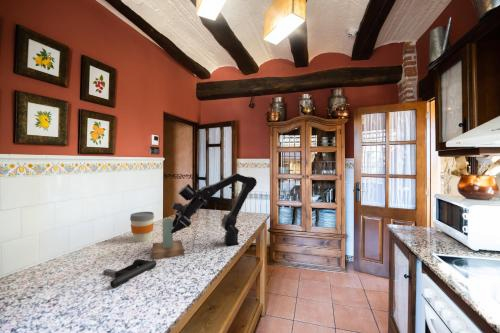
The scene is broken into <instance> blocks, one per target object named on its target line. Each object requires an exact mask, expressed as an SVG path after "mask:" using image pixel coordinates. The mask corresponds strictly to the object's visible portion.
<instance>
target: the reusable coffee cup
mask: <svg viewBox="0 0 500 333" xmlns="http://www.w3.org/2000/svg"><path fill="white" fill-rule="evenodd" d="M129 218H130V219H129V220H130V228H131V233H132V237H133V238H132V239H133V242H134V243H146V242H150V240H152V232H153V230H154V224H155V222H154V218H155V215H154V212H153V211H138V212H134V213H133V212H132V213H131V214H130V217H129Z"/></svg>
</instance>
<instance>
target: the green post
mask: <svg viewBox="0 0 500 333" xmlns="http://www.w3.org/2000/svg"><path fill="white" fill-rule="evenodd" d="M173 221H174V219H172V218H169V219H168V218H165V219H162V242H163V248H170V247H173V241H174V237H173V236H174V235H173V234H174V233H173V234H172V233H171V231H172V229H173V228H174V227H173Z"/></svg>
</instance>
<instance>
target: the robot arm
mask: <svg viewBox="0 0 500 333" xmlns="http://www.w3.org/2000/svg"><path fill="white" fill-rule="evenodd" d="M236 182H240V183H241V188H240V192H239V193H238V195H237V198H236V200H235V201H234V203H233V205H232V206H231V209H230V210H229V213H228V214H225V213H224V214H223V217H222V219H221V227H222V228H223V229H224V231H225V233H224V236H223V237H224V240H223V243H224V244H225V245H226V246H227V247H231V246H235V245H237V246H238V245H240V243H239V238H238V236H239V232H240V230H239V229H238V228H237V226H236V224H237V218H238V215H239V213H240V211H241V209H242V207H243V205H244V203H245V201H246V199H247V198H248V195H249V194H250V193H251V192H252V191H253V190H254V189H255V187H256V186H257V179H256V177H253V176H246V175H245V176H244V175H242V174H240V173H238V172H236V173H235V172H234V173H232V174H231V175H230V176H228V177H225V178H224V179H221V180H220V181H218V182H216V183H212V184H208V185H205V186H202V187H201V188H200V189H194V188H193V187H192V186H191V185H190V184H189V183H187V184H186V185H185V186H183V187H182V188H181V189H180V190H179V191H178V195H179V196H181V197H182V198H183V199H184V200H185V201H189V202H188V203H185V204H183V203H181V202H176V201H174V202H173V203H172V205H171V209H172V210H174V211H175V213H174V219H173V229H172V231H171V233H172V234H174V233H177V232H179V231H182V230H183V229H186V228H189V227H190V226H191V225H192V221H191V218H192V216H193V215H194V214H197V211H198V210H200V208H201V206H203V205H204V206H205V207H206V206H208V200H209V199H210V198H212V197H213V196H215V194H216V193H217V192H219V191H220V190H222V189H225V188H226V187H229V186H231V185H232V184H234V183H236Z"/></svg>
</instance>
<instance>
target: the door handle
mask: <svg viewBox="0 0 500 333" xmlns="http://www.w3.org/2000/svg"><path fill="white" fill-rule="evenodd" d="M156 266H157V261H156V259H154V260H153V259H152V260H147V259H142V258H137V259H135V260H134V261H133V262H132V264H130V265H128V266H126V267H123V268H121V269H119V270H114V269H109V268H105V269H104V270H102V274H103V275H105V276H109V277H113V278H114V279H112V280H110V282H109V286H110V287H111V288H117V287H119V286H121V285H123V284H125V283H126V282H131V281H133V280H135V279H137V278H138V277H141V276H143V275H145V274H146V273H148V271H150V270H152V269H155V267H156Z"/></svg>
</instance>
